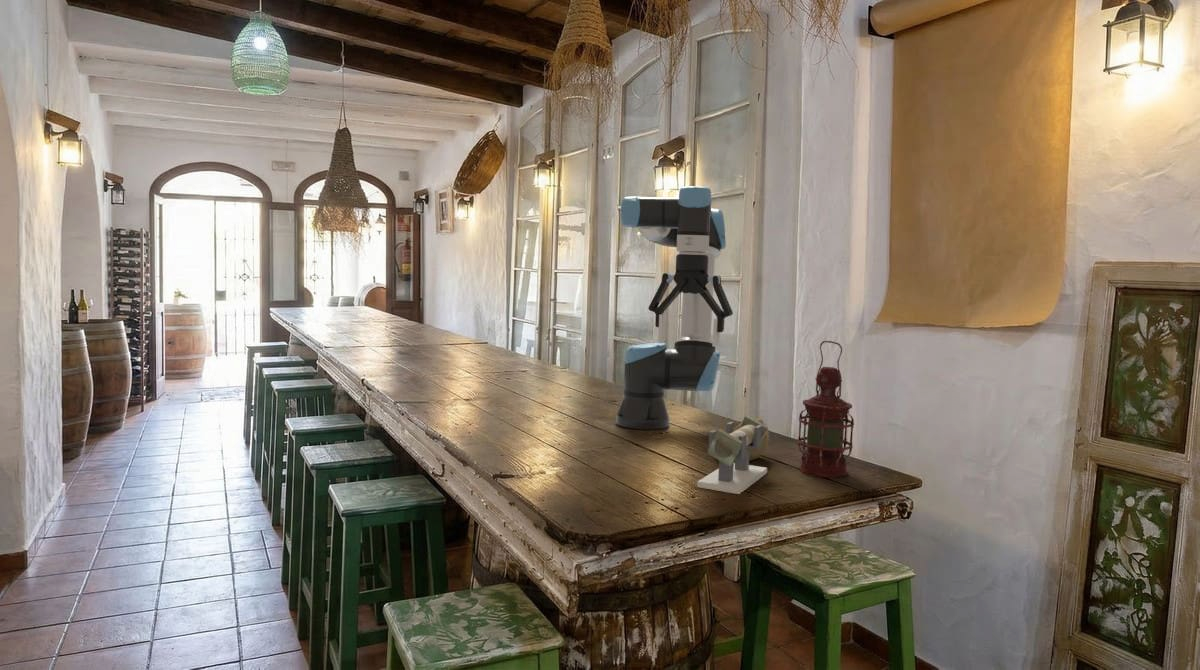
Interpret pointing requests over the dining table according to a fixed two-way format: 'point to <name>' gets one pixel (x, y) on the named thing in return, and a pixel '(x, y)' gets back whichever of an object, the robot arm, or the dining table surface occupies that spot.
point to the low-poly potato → (756, 453)
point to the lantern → (826, 426)
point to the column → (734, 440)
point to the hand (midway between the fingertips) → (688, 343)
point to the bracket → (735, 466)
